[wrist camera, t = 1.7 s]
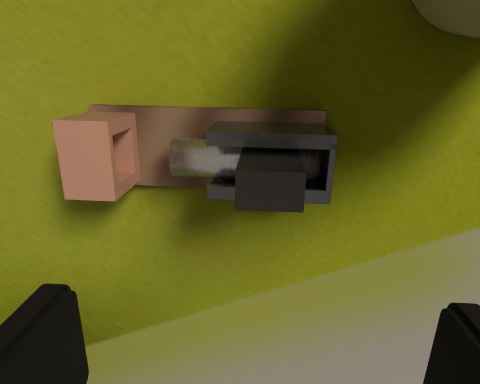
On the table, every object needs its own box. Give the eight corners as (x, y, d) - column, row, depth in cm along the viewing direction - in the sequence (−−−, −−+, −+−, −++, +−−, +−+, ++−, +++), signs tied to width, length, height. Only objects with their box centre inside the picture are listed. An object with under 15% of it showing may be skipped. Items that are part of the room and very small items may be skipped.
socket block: (135, 112, 30) (106, 121, 25) (140, 180, 32) (115, 201, 27) (89, 111, 30) (52, 119, 25) (97, 178, 32) (64, 199, 27)
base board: (324, 110, 29) (326, 111, 29) (316, 188, 32) (318, 192, 31) (94, 104, 31) (88, 105, 30) (103, 180, 33) (98, 183, 32)
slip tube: (316, 138, 28) (338, 168, 19) (313, 174, 29) (332, 218, 20) (177, 134, 29) (140, 161, 20) (179, 170, 30) (143, 210, 21)
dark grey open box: (325, 123, 29) (337, 135, 24) (319, 181, 30) (330, 204, 25) (216, 120, 29) (205, 131, 24) (217, 177, 31) (207, 199, 26)
